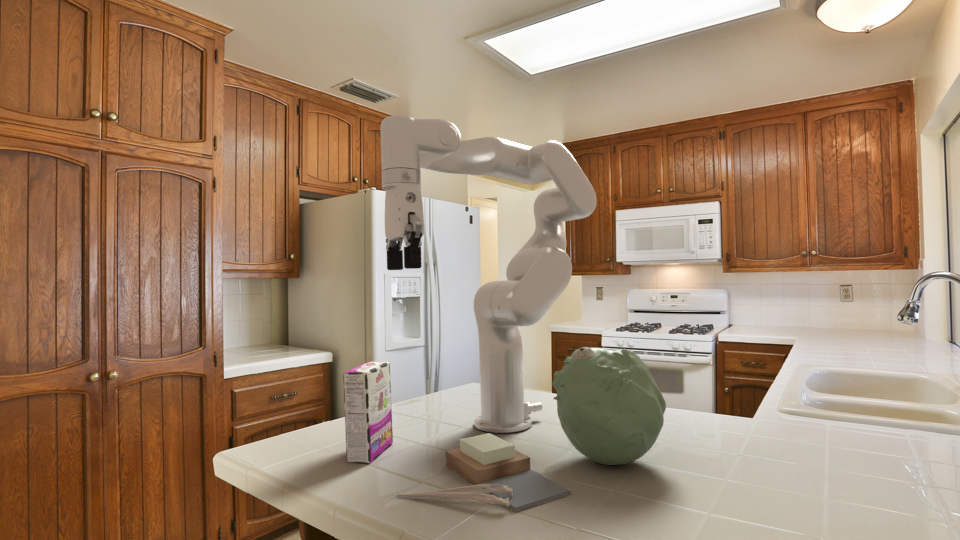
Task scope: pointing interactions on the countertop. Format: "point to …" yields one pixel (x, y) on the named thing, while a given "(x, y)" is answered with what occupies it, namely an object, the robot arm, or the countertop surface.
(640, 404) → the cabbage
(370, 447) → the candy bar box
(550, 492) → the mat
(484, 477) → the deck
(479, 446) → the pale green sponge block
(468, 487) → the tweezers
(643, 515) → the countertop surface
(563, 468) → the countertop surface
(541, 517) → the countertop surface
